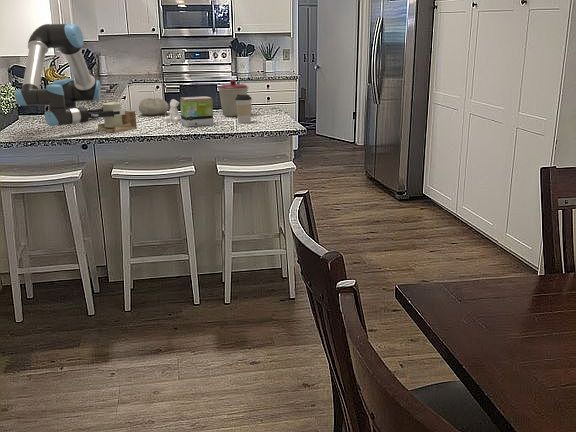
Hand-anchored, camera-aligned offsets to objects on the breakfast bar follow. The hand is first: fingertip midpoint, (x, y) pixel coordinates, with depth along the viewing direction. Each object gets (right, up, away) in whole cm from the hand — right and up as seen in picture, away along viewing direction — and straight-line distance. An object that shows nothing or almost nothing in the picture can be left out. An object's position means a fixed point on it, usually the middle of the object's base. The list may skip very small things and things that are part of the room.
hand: (120, 110), depth 308 cm
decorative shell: (+6, +7, +52) cm, 53 cm away
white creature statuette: (+22, -1, +27) cm, 35 cm away
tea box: (+38, -6, +12) cm, 40 cm away
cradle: (-2, -9, +2) cm, 10 cm away
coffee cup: (+63, -3, +18) cm, 66 cm away
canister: (+55, +4, +42) cm, 70 cm away
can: (-3, -8, 0) cm, 9 cm away
